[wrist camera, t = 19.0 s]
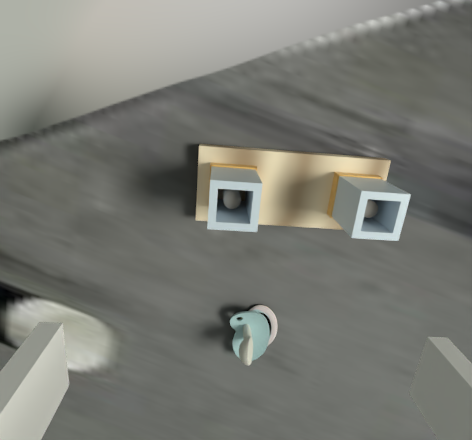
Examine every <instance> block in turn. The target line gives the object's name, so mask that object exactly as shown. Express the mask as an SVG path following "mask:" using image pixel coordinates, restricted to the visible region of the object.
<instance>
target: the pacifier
mask: <svg viewBox="0 0 472 440" xmlns="http://www.w3.org/2000/svg"><path fill="white" fill-rule="evenodd" d="M258 312H259V313H258ZM260 313H264V314H265V315H267V316H268V318H269V319H270V322H271V329H270V330H269V324H268V322H267V320H266V318H265V317H264V316H263V315H262V314H260ZM238 317H242V318H241V319H240V320H237V319H236V318H238ZM230 325H231V327H232V328H233V329H234V330H235V331H236V332H235V334H234V337H233V350H234V352H235V354H236V355H237V356H238V357H239V358H240V359H241V361H242V362H243V363H244V364H245V365H250V364H251V361H253V360H255V359H257V358H259V357H260V356H261V355H262V354H263V353H264V351H265V350H266V348H267V345H269V344H270V343H271V342H272V341H273V340H274V338H275V336H276V333H277V319H276V317H275V314H274V313H273V312H272V310H271V309H269V308H268V307H266V306H264V305H257V306H254V307H253V308H251V309H250V310H249V311H244V312H239V313H236V314H234V315H233V316H232V317H231V319H230ZM239 346H240V347H239Z"/></svg>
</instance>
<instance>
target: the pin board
mask: <svg viewBox="0 0 472 440" xmlns="http://www.w3.org/2000/svg"><path fill="white" fill-rule="evenodd" d="M211 162H212V163H225V164H239V165H252V166H257V173H258V175H259V177H260V179H261V181H262V193H261V202H260V211H259V220H258V224H263V225H279V226H295V227H311V228H327V229H343V228H342V227H341V226H340V225H339V224H338V223H337V222H336V221H335V220H334V218H330V217H329V216H328V215H327V210H328V204H329V199H330V194H331V188H332V183H333V177H334V172H343V173H357V174H370V175H379V176H381V177H383V179H382V180H384V181H386V179H387V175H388V170H389V166H390V162H391V161H390V160H388V159H385V158H376V157H363V156H350V155H337V154H324V153H312V152H299V151H286V150H273V149H261V148H248V147H235V146H222V145H209V144H200V145H199V157H198V179H197V201H196V220H198V221H208V196H209V178H210V163H211ZM217 199H223V200H224V204H225V206H226V207H227V208H229V209H235V208H237V207H238V206H239V205H240V203H241V201H245V190H231V189H218V196H217ZM377 212H378V205H377V204H376V203H375V202H373V201H372V200H371V199H368V201H367V205H366V210H365V214H364V217H366V218H371V217H373V216H375V215H376V214H377ZM343 230H344V229H343Z"/></svg>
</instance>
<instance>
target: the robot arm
mask: <svg viewBox="0 0 472 440" xmlns="http://www.w3.org/2000/svg"><path fill="white" fill-rule="evenodd" d="M68 387H69V378H68V368H67V359H66V350H65V340H64V331H63V323H49V322H39V323H38V325H37V326H36V327H35V328H34V330H33V331H32V332H31V333H30V335H29V336H28V337H27V339H26V340H25V341H24V342H23V344H22V345H21V346H20V347H19V349H18V350H17V351H16V352H15V354H14V355H13V356H12V357H11V359H10V360H9V361H8V363H7V364H6V365H5V366H4V368H3V369H2V370H1V371H0V440H41V439H42V437H43V435H44V433H45V431H46V429H47V427H48V425H49V424H50V422H51V420H52V418H53V416H54V414H55V412H56V410H57V408H58V406H59V404H60V402H61V400H62V398H63V396H64V394H65V393H66V391H67V389H68ZM409 395H410V396H411V398H412V400H413V401H414V403H415V404H416V406H417V407H418V409H419V411H420V412H421V414H422V415H423V417H424V418H425V420H426V421H427V423H428V425H429V426H430V428H431V429H432V431H433V432H434V434H435V436H436V437H437V439H438V440H472V363H471V362H470V361H469V360H468V359H467V358H466V357H465V356H464V355H463V354H462V353H461V352H460V351H459V350H458V348H457V347H456V346H455V345H454V344H453V343H452V342H451V341H450V340H449V339H448V338H444V337H427V340H426V343H425V346H424V349H423V352H422V355H421V358H420V361H419V364H418V367H417V370H416V373H415V376H414V379H413V382H412V385H411V388H410V391H409Z"/></svg>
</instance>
